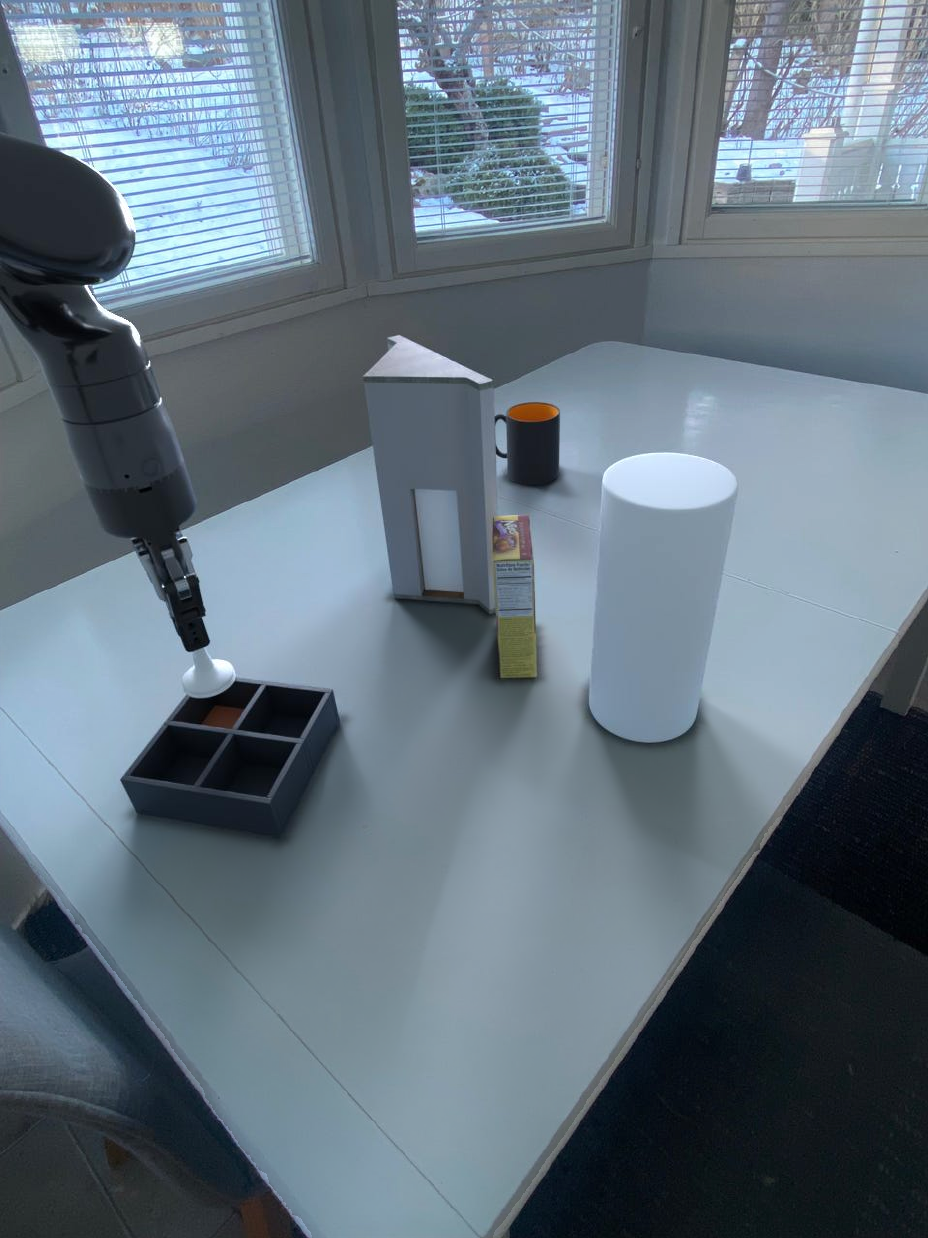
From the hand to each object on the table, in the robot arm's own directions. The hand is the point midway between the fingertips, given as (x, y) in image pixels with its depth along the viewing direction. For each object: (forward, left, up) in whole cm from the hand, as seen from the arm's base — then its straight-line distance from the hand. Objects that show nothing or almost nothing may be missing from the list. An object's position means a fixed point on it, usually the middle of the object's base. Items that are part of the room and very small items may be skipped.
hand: (194, 639), depth 66 cm
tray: (-3, -4, -13) cm, 13 cm away
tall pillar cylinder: (+12, -41, -13) cm, 44 cm away
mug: (+64, -20, -13) cm, 68 cm away
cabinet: (+30, -13, -13) cm, 35 cm away
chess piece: (0, 0, -5) cm, 5 cm away
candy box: (+18, -27, -13) cm, 34 cm away
